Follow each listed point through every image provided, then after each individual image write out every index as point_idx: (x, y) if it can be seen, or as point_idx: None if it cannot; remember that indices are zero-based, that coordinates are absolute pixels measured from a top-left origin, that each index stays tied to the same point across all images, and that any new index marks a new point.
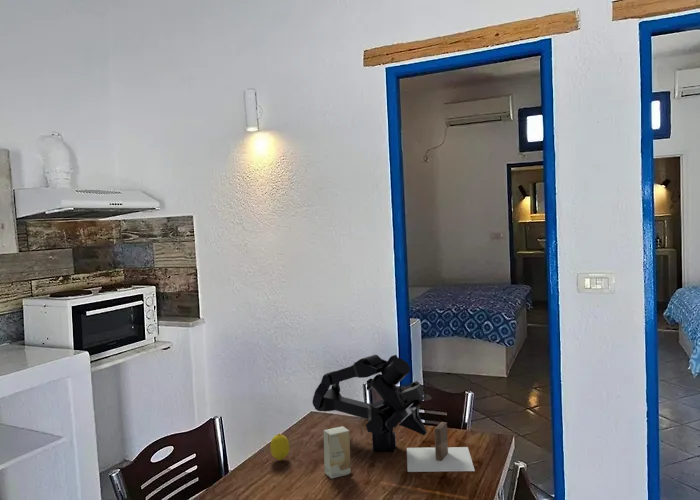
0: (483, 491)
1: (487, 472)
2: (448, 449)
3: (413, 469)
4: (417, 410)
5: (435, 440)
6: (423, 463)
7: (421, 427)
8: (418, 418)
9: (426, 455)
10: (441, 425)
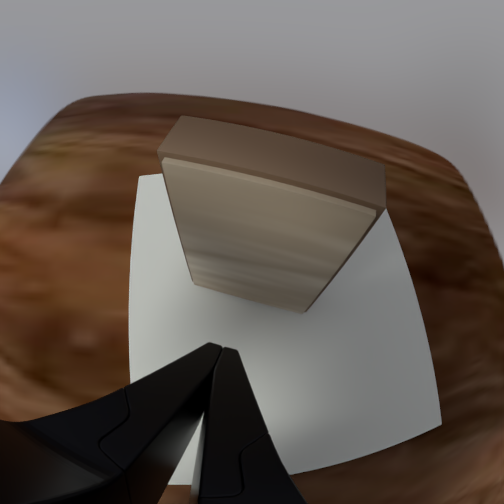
0: (451, 171)
1: (346, 141)
2: (158, 252)
3: (421, 406)
4: (10, 480)
5: (344, 263)
6: (356, 374)
7: (248, 393)
8: (137, 446)
9: (247, 370)
10: (268, 148)
